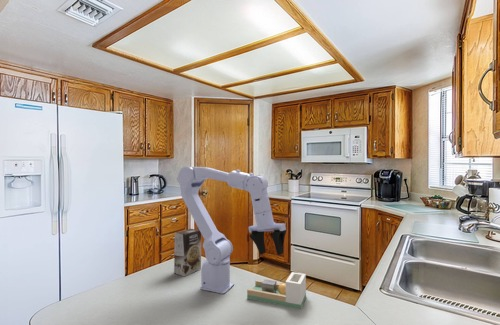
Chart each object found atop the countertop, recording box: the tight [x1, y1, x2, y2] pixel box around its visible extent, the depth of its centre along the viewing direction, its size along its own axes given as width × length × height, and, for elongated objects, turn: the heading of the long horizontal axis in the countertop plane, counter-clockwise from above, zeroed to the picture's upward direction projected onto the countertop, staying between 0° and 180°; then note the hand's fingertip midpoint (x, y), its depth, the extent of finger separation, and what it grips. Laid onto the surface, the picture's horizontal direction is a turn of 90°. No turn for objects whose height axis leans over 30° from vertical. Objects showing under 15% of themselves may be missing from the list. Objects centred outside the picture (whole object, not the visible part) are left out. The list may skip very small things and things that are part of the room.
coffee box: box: [173, 228, 202, 277], centre depth 106 cm, size 9×6×16 cm
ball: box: [278, 282, 286, 295], centre depth 82 cm, size 4×4×4 cm
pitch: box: [246, 271, 307, 310], centre depth 83 cm, size 17×8×7 cm, turn 67°
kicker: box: [262, 278, 278, 293], centre depth 84 cm, size 4×3×3 cm
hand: (271, 253), depth 84 cm, fingers open, 7 cm apart
